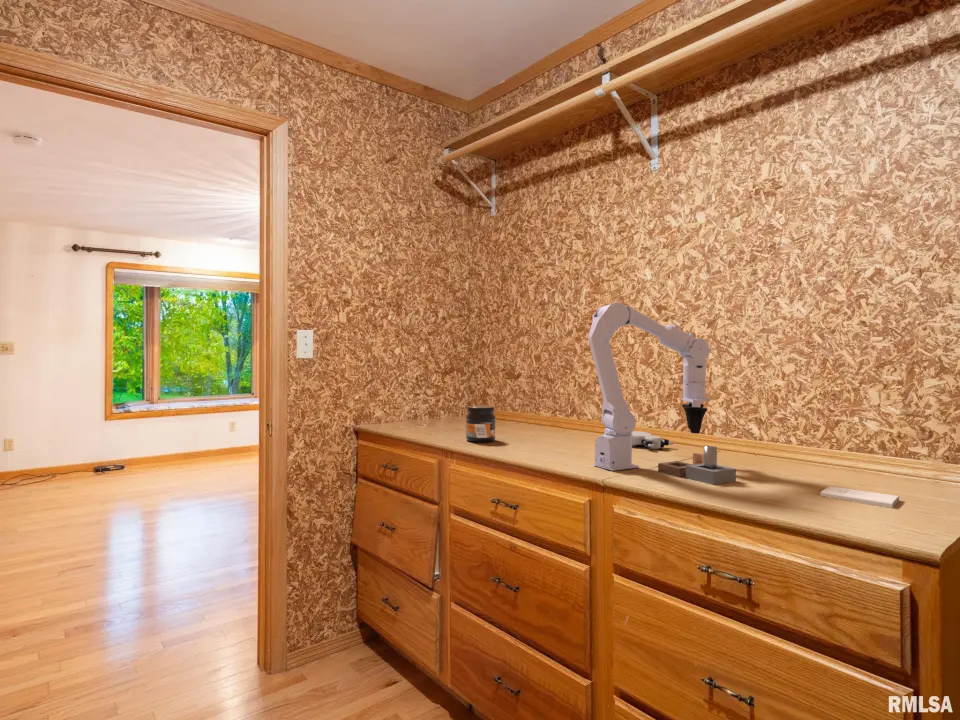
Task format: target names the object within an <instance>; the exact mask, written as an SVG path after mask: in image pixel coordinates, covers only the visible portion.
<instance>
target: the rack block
mask: <svg viewBox="0 0 960 720" xmlns="http://www.w3.org/2000/svg"><path fill="white" fill-rule="evenodd" d="M685 478H686V479H690V480H693V481H696V482H697V481H698V482H701V483H704V484H710V485H712V486H714V485H720V484H727V483H734V482H736V481H737V468H734V467H730V466H726V465H725V466H724V465H720V464H717V469H714V470H711V469H706V468H704V463H702V464H694V465H687V466H686V476H685Z"/></svg>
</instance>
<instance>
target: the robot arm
mask: <svg viewBox="0 0 960 720" xmlns="http://www.w3.org/2000/svg"><path fill="white" fill-rule="evenodd" d="M623 326H634V327H635V328H638V329H640V330H642V331H644V332H647V333H649V334H651V335H652V336H653V335H654V336H655V337H657V339H658V342H659V343H660V344H661V345H663V346H664V347H667V348H669V349H671V350H672V351H675V352H676V353H678V354H679V355H680V356H681V357H682V359H683V363H682V364H683V368H682V369H683V373H682V374H683V375H682V381H683V383H682V384H683V385H682V386H683V387H682V398H681V399H682V401H683V402H687V404H685V403H683V404H681V406H682V408H683V410H684V413H685V416H686V422H687V423H686V424H687V429H688V430H689V431H690V433H691V434H700V432H701V430H702V425H703V424H702V423H703V420H704V417H705V414H706V413H707V411H708V408H707V407H704V406H705V405H704V404H703V403H704V402H705V403H706V402H710V401H711V398H709V397H706V386H707V385H706V383H707V382H706V380H707V379H706V378H707V375H706V372H707V371H706V370H707V368H706V367H707V365H706V364H707V358H708V357H709V355H710V354H711V351H712V350H711V348H710V347H709V343H708V342H707V340H706V339H703V338H700V337H697V338H695V336H694V333H692V332H691V333H688V332H686V331H684V330H682V329H680V326H679V325H677V324H668V325H663V324H661V323H659V322H657V321H655V320H654V319H652V318H650V317H648V316H647V315H645V314H643V313H642V312H641V311H638V310H636V309H635V308H633V307H632V306H629V305H626V304H624V303H623V302H612V303H610V304H607V305H602V306H600V307H599V308H598V309H597V310H596V312H595V313H594V314H593V315H592V323H591V325H590V330H589V333H588V337H587V339H588V343H589V347H590V351H591V355H592V361H593V364H594V368H595V371H596V375H597V379H598V383H599V387H600V392H601V395H602V400H603V402H602V404H601V410H602V414H601V415H602V416H601V422H602V424H603V426H604V427H605V429H604V434H603V435H599V436H597V438H596V439H595V444H594V445H595V447H594V453H595V454H594V463H593V464H592V465H593V466H594V467H598V468H602V469H605V470H609V471H611V472H613V471H620V470H629V469H636V468H640V466H639V465H637V464H635V463H632V462H633V446H632V431H634V430H635V428H636V425H637V424H636V423H637V421H636V417H635V416H634V414H633V413H632V412H631V410H630V407H629V404H628V402H627V401H626V400H625V398H624V396H623V392H622V388H621V384H620V380H619V377H618V371H617V367H616V363H615V359H614V356H613V352H612V347H611V343H610V340H611V339H612V337H613V335H614V334H615V333H616V331H617V330H619V329H620V328H621V327H623Z"/></svg>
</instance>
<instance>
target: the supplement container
mask: <svg viewBox="0 0 960 720" xmlns="http://www.w3.org/2000/svg"><path fill="white" fill-rule="evenodd" d="M466 409H467V414H466V415H465V423H466V424H465V425H466V426H465V429H466V430H465V439H466V440H467V441H468V442H470V443H478V444H479V443H480V444H481V443H482V444H483V443H484V444H486V443H492V442H494V441H495V440H496V438H497V437H496V436H497V435H496V419H497V416H496V415H495V406H493V405H469V406H467V408H466Z"/></svg>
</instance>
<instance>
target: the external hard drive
mask: <svg viewBox="0 0 960 720" xmlns="http://www.w3.org/2000/svg"><path fill="white" fill-rule="evenodd" d="M822 496H825V497H824V498H828V497H831V498H830V499H834V498H837V499H836V500H840V499H842V500H841V501H846V500H848V501H847V502H852V501H854V502H853V503H858V502H859V503H860V504H864V503H866V504H865V505H871V506H876V505H877V506H878V507H883V508H888V509H889V508H890V509H894V507H895V506H896V505H897V504H898V502H899V501H900V496H898V495H895V494H894V495H893V494H886V493H879V492H873V491H866V490H859V489H852V488H844V487H839V486H831V485H829V486H827V487H826V488H825V489H823V490H821V492H820V497H822Z"/></svg>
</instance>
